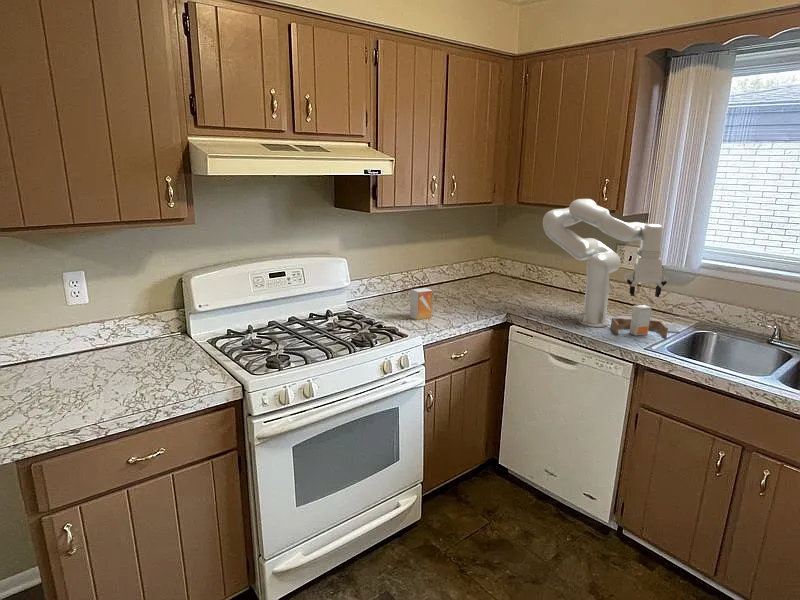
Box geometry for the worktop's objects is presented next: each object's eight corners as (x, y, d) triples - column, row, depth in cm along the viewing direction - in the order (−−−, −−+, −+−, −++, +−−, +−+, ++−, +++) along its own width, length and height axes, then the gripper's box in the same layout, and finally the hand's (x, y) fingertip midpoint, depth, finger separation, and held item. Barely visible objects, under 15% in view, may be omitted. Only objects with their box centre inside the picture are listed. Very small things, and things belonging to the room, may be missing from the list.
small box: (417, 320, 233) (418, 292, 230) (409, 317, 239) (410, 289, 235) (432, 317, 238) (433, 290, 235) (423, 314, 243) (424, 287, 240)
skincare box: (635, 336, 217) (639, 308, 214) (629, 332, 220) (632, 305, 218) (648, 335, 218) (652, 307, 215) (641, 332, 222) (644, 304, 219)
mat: (655, 331, 223) (655, 330, 223) (648, 325, 232) (648, 323, 232) (680, 333, 221) (680, 331, 221) (672, 326, 231) (672, 325, 231)
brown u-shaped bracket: (616, 335, 217) (617, 324, 216) (610, 327, 227) (611, 317, 226) (666, 338, 214) (668, 327, 213) (658, 330, 224) (659, 320, 223)
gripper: (629, 255, 209) (624, 297, 213) (675, 256, 206) (669, 299, 210) (624, 252, 216) (620, 293, 220) (669, 254, 213) (664, 294, 217)
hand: (644, 295), depth 215 cm, fingers open, 9 cm apart
